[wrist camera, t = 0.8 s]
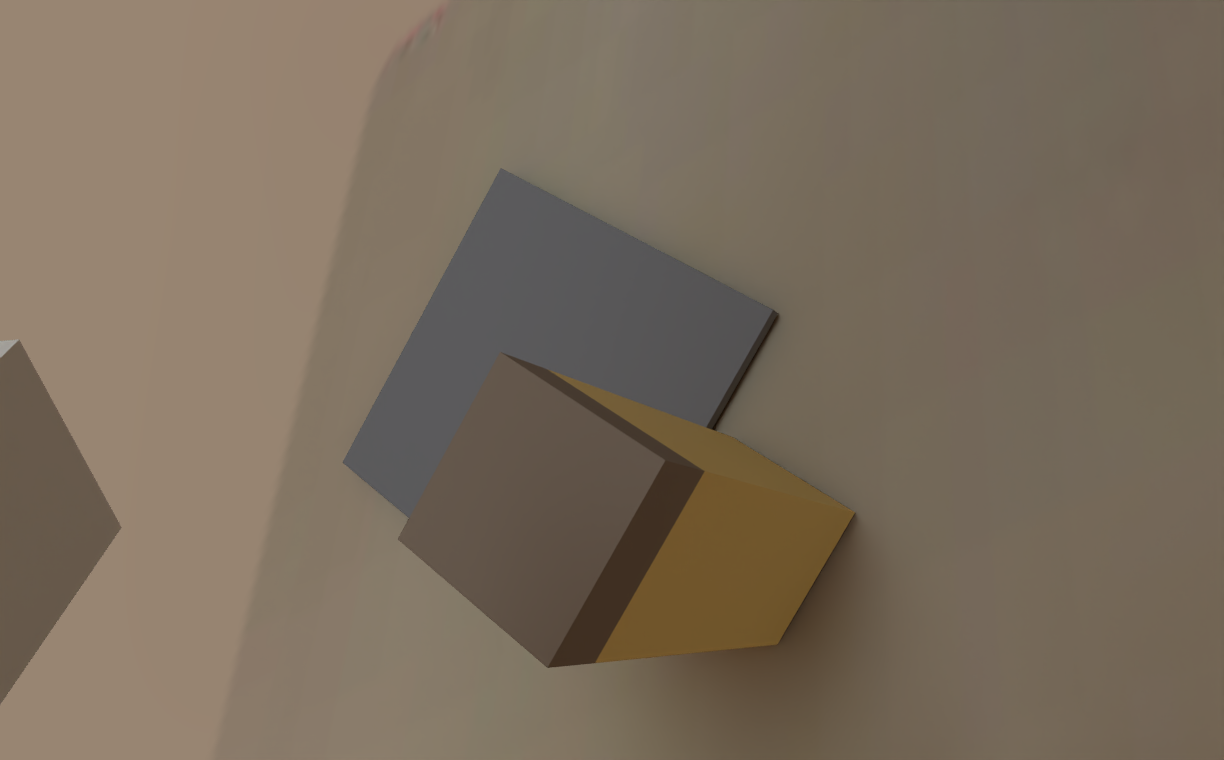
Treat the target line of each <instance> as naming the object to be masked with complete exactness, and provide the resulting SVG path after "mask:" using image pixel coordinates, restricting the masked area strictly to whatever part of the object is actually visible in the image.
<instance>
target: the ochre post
mask: <svg viewBox="0 0 1224 760" xmlns="http://www.w3.org/2000/svg"><path fill="white" fill-rule="evenodd" d="M854 513H855V512H853V511H852V510H850V509H848V508H847V507H845V506H843V505H842V504H840V503H839V502H837V501H835V500H834V499H832V498H830V497H829V496H827V495H826V494H824V493H822V492H821V491H819V490H817V489H816V488H814V487H813V486H811V485H809V484H808V483H806V482H804V481H803V480H801V479H800V478H798V477H796V476H795V475H793V474H791V473H790V472H788V471H786V470H785V469H783V468H782V467H780V466H778V465H777V464H775V463H773V462H772V461H770V460H769V459H767V458H765V457H764V456H762V455H760V454H759V453H757V452H756V451H754V450H752V449H751V448H749V447H747V446H746V445H744V444H743V443H741V442H739V441H738V440H736V439H734V438H733V437H730V436H728V435H725V434H722V433H720V432H717V431H714V430H711V429H709V428H706V427H703V426H700V425H698V424H695V423H692V422H690V421H687V420H684V419H681V418H679V417H676V416H673V415H670V414H668V413H665V412H662V411H660V410H657V409H654V408H651V407H649V406H646V405H643V404H641V403H638V402H635V401H632V400H630V399H627V398H624V397H621V396H619V395H616V394H613V393H611V392H608V391H605V390H602V389H600V388H597V387H594V386H592V385H589V384H586V383H583V382H581V381H578V380H575V379H572V378H570V377H567V376H564V375H562V374H559V373H556V372H553V371H551V370H548V369H545V368H543V367H540V366H537V365H534V364H532V363H529V362H526V361H523V360H521V359H518V358H515V357H513V356H510V355H507V354H504V353H502V352H500V353H499V355H498V357H497V359H496V360H495V362H494V364H493V366H492V368H491V370H490V371H489V373H488V375H487V377H486V379H485V381H484V382H483V384H482V386H481V388H480V390H479V391H478V393H477V395H476V397H475V399H474V401H473V402H472V404H471V406H470V408H469V410H468V412H467V413H466V415H465V417H464V419H463V421H462V423H461V424H460V426H459V428H458V430H457V432H456V433H455V435H454V437H453V439H452V441H451V443H450V444H449V446H448V448H447V450H446V452H445V454H444V455H443V457H442V459H441V461H440V463H439V465H438V466H437V468H436V470H435V472H434V474H433V475H432V477H431V479H430V481H429V483H428V485H427V486H426V488H425V490H424V492H423V494H422V496H421V497H420V499H419V501H418V503H417V505H416V507H415V508H414V510H413V512H412V514H411V516H410V518H409V519H408V521H407V523H406V525H405V527H404V528H403V530H402V532H401V534H400V536H399V538H398V540H399V541H400V542H402V543H403V544H404V545H405V546H406V547H407V548H409V549H410V550H411V551H412V552H413V553H414V554H416V555H417V556H418V557H419V558H420V559H421V560H423V561H424V562H425V563H426V564H427V565H428V566H430V567H431V568H432V569H433V570H434V571H435V572H437V573H438V574H439V575H440V576H441V577H442V578H444V579H445V580H446V581H447V582H448V583H449V584H451V585H452V586H453V587H454V588H455V589H456V590H458V591H459V592H460V593H461V594H462V595H463V596H464V597H466V598H467V599H468V600H469V601H470V602H471V603H473V604H474V605H475V606H476V607H477V608H478V609H480V610H481V611H482V612H483V613H484V614H485V615H487V616H488V617H489V618H490V619H491V620H492V621H494V622H495V623H496V624H497V625H498V626H499V627H501V628H502V629H503V630H504V631H505V632H506V633H508V634H509V635H510V636H511V637H512V638H513V639H515V640H516V641H517V642H518V643H519V644H520V645H522V646H523V647H524V648H525V649H526V650H527V651H529V652H530V653H531V654H532V655H533V656H534V657H535V658H537V659H538V660H539V661H540V662H541V663H542V664H544V665H545V666H546V667H547V668H550V667H560V666H570V665H580V664H590V663H600V662H610V661H620V660H629V659H639V658H649V657H659V656H669V655H679V654H689V653H699V652H709V651H719V650H729V649H738V648H748V647H758V646H768V645H777V644H778V643H779V641H780V639H781V637H782V636H783V634H784V632H785V631H786V629H787V627H788V626H789V624H790V622H791V620H792V619H793V617H794V615H795V614H796V612H797V610H798V609H799V607H800V605H801V603H802V602H803V600H804V598H805V597H806V595H807V593H808V592H809V590H810V588H811V586H812V585H813V583H814V581H815V580H816V578H817V576H818V575H819V573H820V571H821V570H822V568H823V566H824V564H825V563H826V561H827V559H828V558H829V556H830V554H831V553H832V551H833V549H834V547H835V546H836V544H837V542H838V541H839V539H840V537H841V536H842V534H843V532H844V530H845V529H846V527H847V525H848V524H849V522H850V520H851V519H852V517H853V515H854Z"/></svg>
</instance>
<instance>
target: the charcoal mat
mask: <svg viewBox="0 0 1224 760" xmlns="http://www.w3.org/2000/svg"><path fill="white" fill-rule="evenodd" d="M777 314H778V313H777V312H775V311H774V310H772V309H770V308H769V307H767V306H765V305H763V304H761V303H759V302H757V301H755V300H753V299H751V298H749V297H747V296H745V295H744V294H742V293H740V292H738V291H736V290H734V289H732V288H730V287H728V286H726V285H724V284H722V283H720V282H719V281H717V280H715V279H713V278H711V277H709V276H707V275H705V274H703V273H701V272H699V271H697V270H696V269H694V268H692V267H690V266H688V265H686V264H684V263H682V262H680V261H678V260H676V259H674V258H672V257H671V256H669V255H667V254H665V253H663V252H661V251H659V250H657V249H655V248H653V247H651V246H649V245H647V244H646V243H644V242H642V241H640V240H638V239H636V238H634V237H632V236H630V235H628V234H626V233H624V232H622V231H621V230H619V229H617V228H615V227H613V226H611V225H609V224H607V223H605V222H603V221H601V220H599V219H598V218H596V217H594V216H592V215H590V214H588V213H586V212H584V211H582V210H580V209H578V208H576V207H574V206H573V205H571V204H569V203H567V202H565V201H563V200H561V199H559V198H557V197H555V196H553V195H551V194H549V193H548V192H546V191H544V190H542V189H540V188H538V187H536V186H534V185H532V184H530V183H528V182H526V181H524V180H523V179H521V178H519V177H517V176H515V175H513V174H511V173H509V172H507V171H505V170H503V169H500V171H499V173H498V174H497V176H496V178H495V180H494V182H493V184H492V186H491V187H490V189H489V191H488V193H487V195H486V197H485V199H484V200H483V202H482V204H481V206H480V208H479V210H478V212H477V213H476V215H475V217H474V219H473V221H472V223H471V225H470V227H469V228H468V230H467V232H466V234H465V236H464V238H463V240H462V241H461V243H460V245H459V247H458V249H457V251H456V253H455V254H454V256H453V258H452V260H451V262H450V264H449V266H448V267H447V269H446V271H445V273H444V275H443V277H442V279H441V280H440V282H439V284H438V286H437V288H436V290H435V292H434V293H433V295H432V297H431V299H430V301H429V303H428V305H427V306H426V308H425V310H424V312H423V314H422V316H421V318H420V319H419V321H418V323H417V325H416V327H415V329H414V331H413V332H412V334H411V336H410V338H409V340H408V342H407V344H406V345H405V347H404V349H403V351H402V353H401V355H400V357H399V358H398V360H397V362H396V364H395V366H394V368H393V370H392V371H391V373H390V375H389V377H388V379H387V381H386V383H385V384H384V386H383V388H382V390H381V392H380V394H379V396H378V397H377V399H376V401H375V403H374V405H373V407H372V409H371V410H370V412H369V414H368V416H367V418H366V420H365V422H364V424H363V425H362V427H361V429H360V431H359V433H358V435H357V437H356V438H355V440H354V442H353V444H352V446H351V448H350V450H349V451H348V453H347V455H346V457H345V459H344V461H343V463H344V464H345V465H346V466H347V467H349V468H350V469H351V470H352V471H353V472H355V473H356V474H357V475H358V476H359V477H361V478H362V479H363V480H364V481H365V482H367V483H368V484H369V485H370V486H371V487H373V488H374V489H375V490H376V491H377V492H379V493H380V494H381V495H382V496H383V497H385V498H386V499H387V500H388V501H389V502H391V503H392V504H393V505H394V506H395V507H397V508H398V509H399V510H400V511H401V512H403V513H404V514H405V515H406V516H407V517H409V518H410V516H411V514H412V512H413V510H414V508H415V507H416V505H417V503H418V501H419V499H420V497H421V496H422V494H423V492H424V490H425V488H426V486H427V485H428V483H429V481H430V479H431V477H432V475H433V474H434V472H435V470H436V468H437V466H438V465H439V463H440V461H441V459H442V457H443V455H444V454H445V452H446V450H447V448H448V446H449V444H450V443H451V441H452V439H453V437H454V435H455V433H456V432H457V430H458V428H459V426H460V424H461V423H462V421H463V419H464V417H465V415H466V413H467V412H468V410H469V408H470V406H471V404H472V402H473V401H474V399H475V397H476V395H477V393H478V391H479V390H480V388H481V386H482V384H483V382H484V381H485V379H486V377H487V375H488V373H489V371H490V370H491V368H492V366H493V364H494V362H495V360H496V359H497V357H498V355H499V353H500V352H502V353H504V354H507V355H510V356H513V357H515V358H518V359H521V360H523V361H526V362H529V363H532V364H534V365H537V366H540V367H543V368H545V369H548V370H551V371H553V372H556V373H559V374H562V375H564V376H567V377H570V378H572V379H575V380H578V381H581V382H583V383H586V384H589V385H592V386H594V387H597V388H600V389H602V390H605V391H608V392H611V393H613V394H616V395H619V396H621V397H624V398H627V399H630V400H632V401H635V402H638V403H641V404H643V405H646V406H649V407H651V408H654V409H657V410H660V411H662V412H665V413H668V414H670V415H673V416H676V417H679V418H681V419H684V420H687V421H690V422H692V423H695V424H698V425H700V426H703V427H706V428H709V429H711V430H712V428H713V426H714V425H715V423H716V421H717V419H718V418H719V416H720V414H721V412H722V411H723V409H724V407H725V405H726V404H727V402H728V400H729V398H730V397H731V395H732V393H733V391H734V390H735V388H736V386H737V384H738V383H739V381H740V379H741V377H742V376H743V374H744V372H745V370H746V369H747V367H748V365H749V363H750V362H751V360H752V358H753V356H754V355H755V353H756V351H757V349H758V348H759V346H760V344H761V342H762V341H763V339H764V337H765V335H766V334H767V332H768V330H769V328H770V327H771V325H772V323H773V321H774V320H775V318H776V316H777Z"/></svg>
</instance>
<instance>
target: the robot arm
mask: <svg viewBox="0 0 1224 760" xmlns="http://www.w3.org/2000/svg"><path fill="white" fill-rule="evenodd" d="M120 529H121V526H120V524H119V522H118V520H117V518H116V517H115V515H114V513H113V511H112V509H111V507H110V505H109V504H108V502H107V500H106V498H105V496H104V494H103V493H102V491H101V489H100V487H99V486H98V483H97V482H96V480H95V478H94V476H93V474H92V472H91V471H90V469H89V467H88V465H87V463H86V461H85V460H84V458H83V456H82V454H81V452H80V450H79V449H78V447H77V445H76V443H75V441H74V439H73V438H72V436H71V434H70V432H69V430H68V428H67V427H66V425H65V423H64V421H63V419H62V417H61V415H60V414H59V412H58V410H57V408H56V406H55V404H54V403H53V401H52V399H51V397H50V395H49V393H48V392H47V390H46V388H45V386H44V384H43V382H42V381H41V379H40V377H39V375H38V373H37V372H36V370H35V368H34V366H33V364H32V362H31V360H30V359H29V357H28V355H27V353H26V351H25V349H24V348H23V346H22V344H21V342H20V340H8V341H0V704H1V702H2V701H3V700H4V698H5V697H6V695H7V694H8V692H9V691H10V690H11V688H12V687H13V685H14V684H15V682H16V681H17V679H18V678H19V676H20V675H21V673H22V672H23V671H24V669H25V668H26V666H27V665H28V663H29V662H30V660H31V659H32V657H33V656H34V655H35V653H36V652H37V650H38V649H39V647H40V646H41V644H42V643H43V641H44V640H45V638H46V637H47V636H48V634H49V633H50V631H51V630H52V628H53V627H54V625H55V624H56V622H57V621H58V619H59V618H60V617H61V615H62V614H63V612H64V611H65V609H66V608H67V606H68V605H69V603H70V602H71V600H72V599H73V598H74V596H75V595H76V593H77V592H78V590H79V589H80V587H81V586H82V584H83V583H84V581H85V580H86V579H87V577H88V576H89V574H90V573H91V571H92V570H93V568H94V567H95V565H96V564H97V562H98V561H99V559H100V558H101V557H102V555H103V554H104V552H105V551H106V549H107V548H108V546H109V545H110V544H111V542H112V541H113V539H114V538H115V536H116V535H117V533H118V532H119V530H120Z"/></svg>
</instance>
